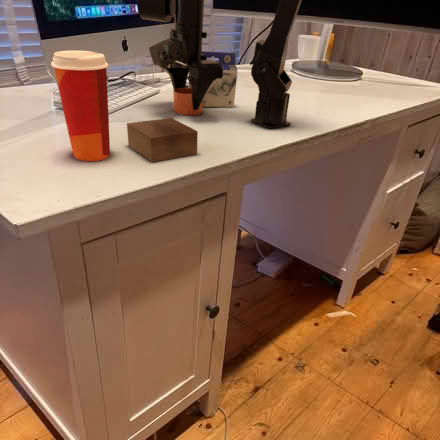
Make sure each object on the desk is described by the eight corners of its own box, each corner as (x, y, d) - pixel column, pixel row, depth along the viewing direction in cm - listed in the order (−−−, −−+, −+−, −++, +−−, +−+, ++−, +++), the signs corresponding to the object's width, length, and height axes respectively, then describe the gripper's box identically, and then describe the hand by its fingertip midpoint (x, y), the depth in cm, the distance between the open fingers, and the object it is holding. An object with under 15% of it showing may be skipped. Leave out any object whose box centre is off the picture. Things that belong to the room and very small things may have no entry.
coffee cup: (96, 143, 75) (85, 48, 66) (126, 155, 71) (118, 56, 62) (55, 154, 70) (36, 52, 61) (85, 167, 66) (70, 60, 57)
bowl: (192, 107, 100) (193, 86, 97) (208, 114, 95) (209, 93, 93) (168, 109, 96) (168, 88, 94) (183, 117, 92) (183, 95, 89)
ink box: (189, 107, 99) (190, 52, 92) (187, 105, 101) (188, 50, 93) (235, 107, 102) (239, 53, 95) (232, 104, 104) (236, 52, 96)
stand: (171, 139, 79) (171, 117, 77) (197, 154, 74) (197, 131, 71) (128, 146, 75) (126, 123, 73) (151, 162, 69) (150, 138, 67)
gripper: (133, 18, 87) (136, 98, 97) (178, 31, 76) (177, 120, 85) (178, 19, 93) (177, 95, 102) (227, 31, 81) (221, 115, 91)
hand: (187, 105), depth 95 cm, fingers closed on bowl, 7 cm apart
